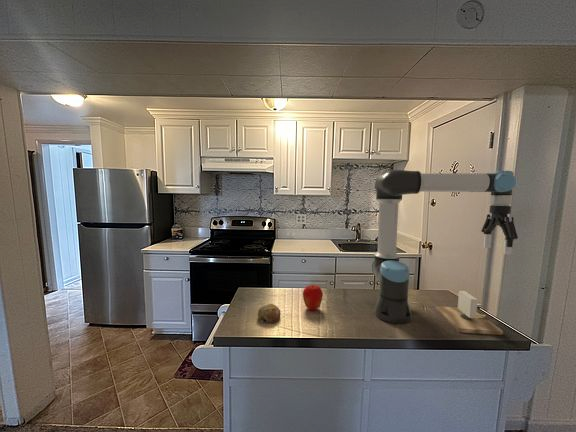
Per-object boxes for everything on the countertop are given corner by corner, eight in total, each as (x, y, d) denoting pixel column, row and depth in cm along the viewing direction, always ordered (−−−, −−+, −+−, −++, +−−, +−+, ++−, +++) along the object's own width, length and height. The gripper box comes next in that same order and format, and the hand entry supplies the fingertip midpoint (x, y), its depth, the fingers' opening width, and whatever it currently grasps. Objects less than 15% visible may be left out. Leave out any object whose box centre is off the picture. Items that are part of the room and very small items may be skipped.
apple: (321, 304, 124) (321, 280, 123) (323, 313, 115) (324, 287, 114) (302, 304, 125) (302, 280, 123) (303, 313, 116) (303, 287, 114)
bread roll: (255, 327, 110) (251, 314, 106) (265, 308, 119) (261, 296, 115) (277, 331, 107) (273, 319, 103) (285, 312, 115) (282, 299, 111)
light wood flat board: (458, 332, 101) (458, 327, 101) (435, 309, 121) (435, 305, 120) (502, 334, 99) (503, 330, 99) (472, 311, 119) (472, 307, 119)
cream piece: (467, 322, 105) (468, 299, 105) (455, 312, 114) (457, 290, 113) (492, 323, 104) (494, 300, 103) (478, 313, 113) (480, 291, 112)
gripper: (531, 206, 105) (527, 257, 106) (491, 203, 129) (487, 245, 131) (511, 206, 105) (507, 256, 107) (475, 203, 130) (472, 244, 132)
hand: (496, 250), depth 119 cm, fingers open, 13 cm apart
